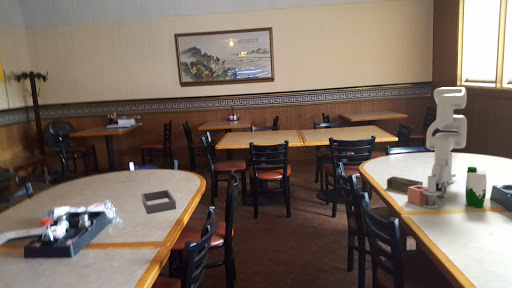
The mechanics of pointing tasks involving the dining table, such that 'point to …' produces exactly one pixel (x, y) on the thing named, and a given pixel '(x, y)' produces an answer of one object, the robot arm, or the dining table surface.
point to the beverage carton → (401, 183)
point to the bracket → (417, 195)
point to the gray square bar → (442, 192)
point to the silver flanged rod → (431, 192)
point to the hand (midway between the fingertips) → (440, 193)
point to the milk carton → (475, 187)
